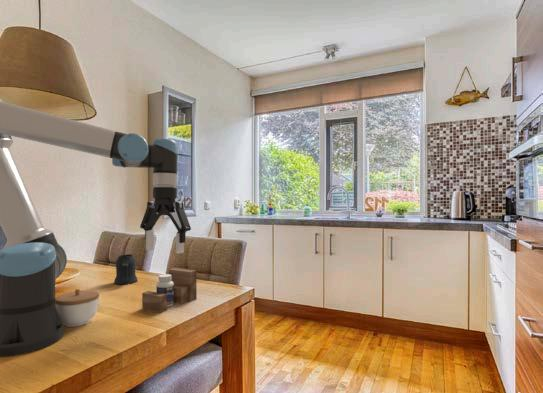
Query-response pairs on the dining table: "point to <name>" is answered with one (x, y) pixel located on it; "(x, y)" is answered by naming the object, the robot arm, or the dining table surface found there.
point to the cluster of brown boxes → (182, 291)
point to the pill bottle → (166, 288)
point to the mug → (125, 270)
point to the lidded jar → (77, 307)
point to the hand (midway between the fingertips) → (164, 251)
